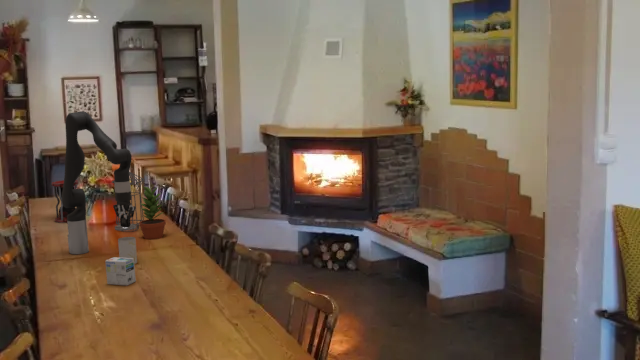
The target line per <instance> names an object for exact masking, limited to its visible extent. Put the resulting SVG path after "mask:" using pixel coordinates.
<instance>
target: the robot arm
mask: <svg viewBox="0 0 640 360" xmlns="http://www.w3.org/2000/svg"><path fill="white" fill-rule="evenodd" d="M85 130H86V131H87V132H90V133H91V134H92V139H93V142H94V144H95V146H96V147H97V148H99V149H100V150H101V151H102V152H103V153H104V155H105V156H106V158H107V159H108V161H109V162H110V163H111V164H112V165H119V167H118V168H116V169H115V170H114V172H113V179H114V180H113V181H115V184H114V197H115V199H114V200H115V201H116V204H113V205H112V207H113V210H114V212H115V213H114V214H115V217H116V216H117V218H118V217H119V222H120V223H119V224H121V226H122V218H123V217H125V223H126V227H128V226H130V224H131V221H130V220H131V219H132V217H133V218H134V215H135V213H136V211H135V205H134V206H133V204H132V205H131V199H132V200H133V196H132V197H131V195H132V193H131V192H132V185H130V183H131V180H130V179H131V178H130V176H129V172H130V170H131V166H132V160H133V159H132V153H131V151H130V150H129V149H128V148H119V149H117V147H118V144H117V143H116V142H115V141H114V140H113V139H112V138H111V137H110V136H108V135H107V134H106V133H105V132H104V131H103V130H102V128H101V127H100V126H99V125H98V124H97V122H96V121H95V119H94V118H92V116H91V115H90V114H89V113H88V112H86V111H82V110H81V111H76V112H75V111H74V112H70V113H68V114H67V115H66V118H65V155H64V157H65V159H64V177H63V180H64V184H63V191H62V204H63V206H64V207H65V208H72V207H75V208H76V209H75V210H74V211H73V212H72V213H70V214H68V215H67V223H66V224H67V230H68V234H67V244H68V252H69V253H70V254H71V255H83V254H87V253H89V250H90V249H89V238H88V236H89V235H88V226H87V225H88V224H87V203H86V201H87V200H86V193H85V190H84V189H82V188H77V189H75V188H74V189H72V188H73V185H74V183H75V181H76V180H78V178H79V177H80V175H81V173H82V172H83V170H84V169H85V160H86V159H85V158H86V156H85V152H84V150H83V148H82V147H81V145H80V144H79V141H78V132H80V131H85ZM127 211H128V212H127ZM118 213H119V214H118ZM127 214H128V216H127Z"/></svg>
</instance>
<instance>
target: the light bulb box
mask: <svg viewBox="0 0 640 360" xmlns="http://www.w3.org/2000/svg"><path fill="white" fill-rule="evenodd" d="M104 263H105V273H106V283H107V285H115V286H116V285H117V286H118V285H119V286H129V285H131V284H133V283H135V282H136V281H137V280H136V269H135V264H134V258H119V256H118V257H116V256H114V257H111V258H109V259H108V258H107V259H106V260H105V262H104Z"/></svg>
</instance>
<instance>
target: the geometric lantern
mask: <svg viewBox="0 0 640 360" xmlns="http://www.w3.org/2000/svg"><path fill="white" fill-rule="evenodd" d="M129 178H130V185H131V186H135V187H136V189H135V190H134V191H131V197H132V199H131V200H130V203H131V205H132V206H133V199H134V206H135V219H134V216H133V217H132V218H131V219H130V222H131V224H134V221H135V222H136V223H135V224H136V228H135V229H132V232H136V231H137V230H139V229H140V226H139V222H141V221H143V220H144V219H145V218H144V216H143V215H144V211H143V210H142V209H141V208H143V205H141V204H143V202H142V201H143V200H142V193H141V191H142V190H141V189H142V186H143V185H142V184H143V183H144V182H145V181H146V179H145V178H143V177H141V176H140V175H137V174H135V173H134V172H132V171H129ZM111 184H114V185H115V181H114V180H112V181H111ZM137 195H139V209H140V219H138V213H137V204H136V201H137V200H136V196H137ZM127 212H128V211H127ZM118 214H119V213H118ZM127 216H128V214H127ZM115 224H116V226H117V225H121V224H120V218H119V217H117V216H116V215H115ZM121 232H126V233H127V232H129V230H126V231H121Z"/></svg>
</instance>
